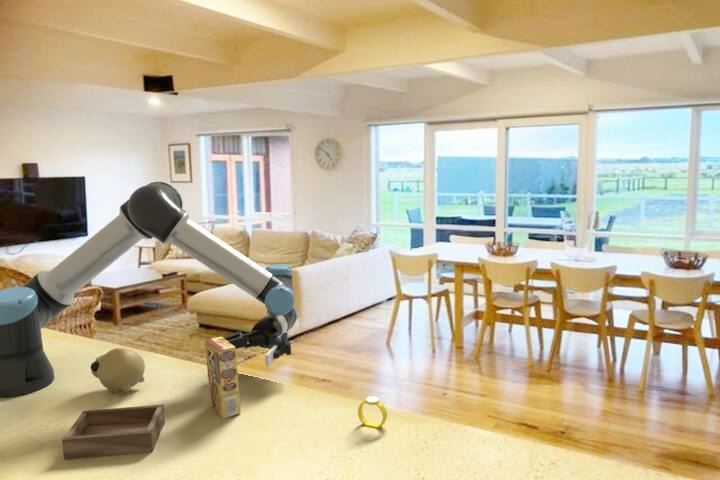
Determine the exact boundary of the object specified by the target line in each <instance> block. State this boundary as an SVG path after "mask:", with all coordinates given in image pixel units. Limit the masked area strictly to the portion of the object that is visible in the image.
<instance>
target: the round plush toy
mask: <svg viewBox="0 0 720 480" xmlns="http://www.w3.org/2000/svg"><path fill="white" fill-rule="evenodd" d="M145 367H146V366H145V360H144V359H143V357H142V355H140V354H138V353H137V352H136V351H133V350H130V349H128V348H124V347H123V348H120V347H118V348H117V347H116V348H113V349H111V350H109V351H107V352H106V353H105V354H102V355H100V356H98V357H96V359H95V361H93V362H92V363H91V364H90V370H91V374H92V376H93V377H95V378H97V379H98V380H99V382H100V383H101V384H102V386H103V387H105V388H106V389H107V392H108V395H113V394H115V392H121V391H122V392H125V393H127V392H129V391H130V390H131V388H133V387H135V386H136V385H137V384H138V383H144V382H145V376H144V374H145Z"/></svg>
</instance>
